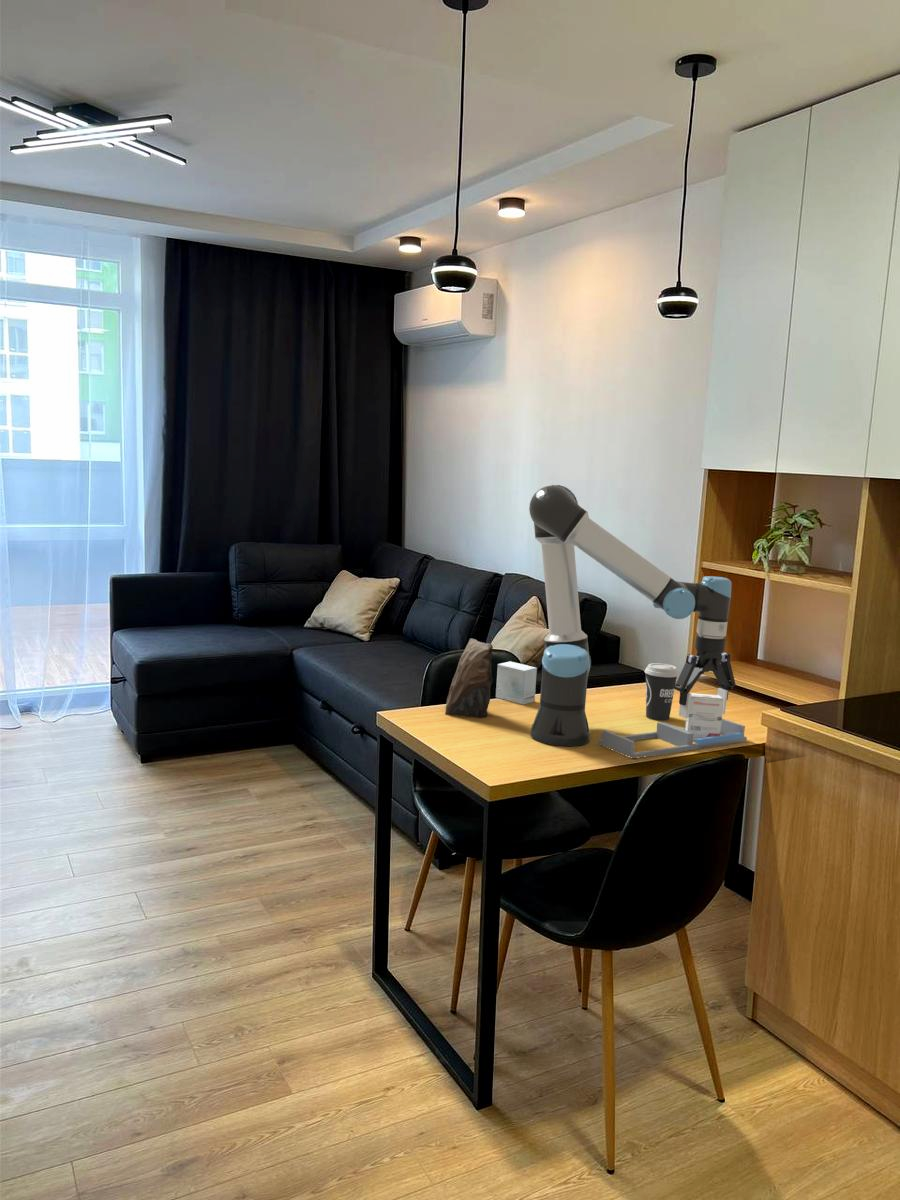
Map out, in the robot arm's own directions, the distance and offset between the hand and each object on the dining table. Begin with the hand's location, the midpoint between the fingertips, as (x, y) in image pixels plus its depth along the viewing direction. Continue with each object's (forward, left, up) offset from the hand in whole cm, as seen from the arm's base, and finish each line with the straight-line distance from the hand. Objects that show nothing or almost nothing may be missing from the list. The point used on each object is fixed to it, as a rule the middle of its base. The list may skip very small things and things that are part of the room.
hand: (702, 715), depth 243 cm
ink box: (0, 0, -7) cm, 7 cm away
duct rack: (-10, 0, -6) cm, 12 cm away
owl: (-46, +44, -7) cm, 64 cm away
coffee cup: (+4, +20, -7) cm, 22 cm away
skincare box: (-24, +51, -7) cm, 57 cm away
